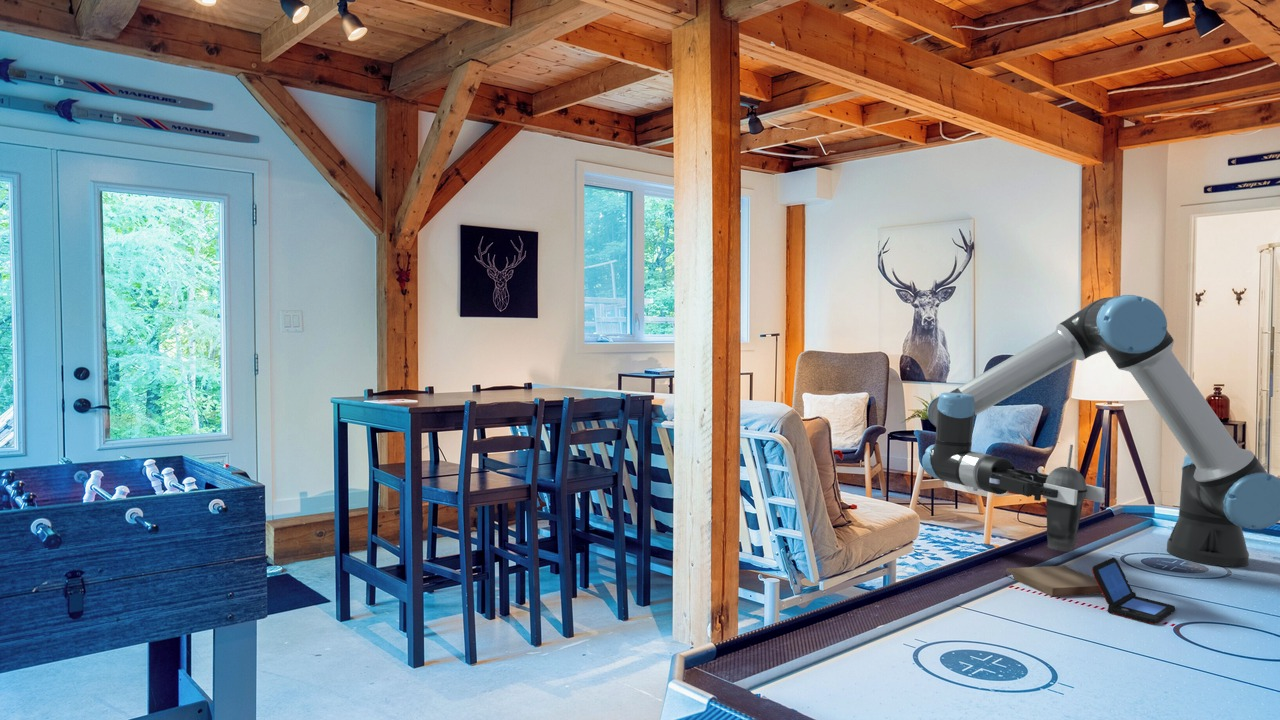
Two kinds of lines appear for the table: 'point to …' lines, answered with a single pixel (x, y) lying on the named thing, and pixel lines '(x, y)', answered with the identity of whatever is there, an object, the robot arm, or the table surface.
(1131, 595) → the handheld game console
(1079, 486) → the beverage cup
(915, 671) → the table surface
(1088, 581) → the walnut board
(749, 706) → the table surface
